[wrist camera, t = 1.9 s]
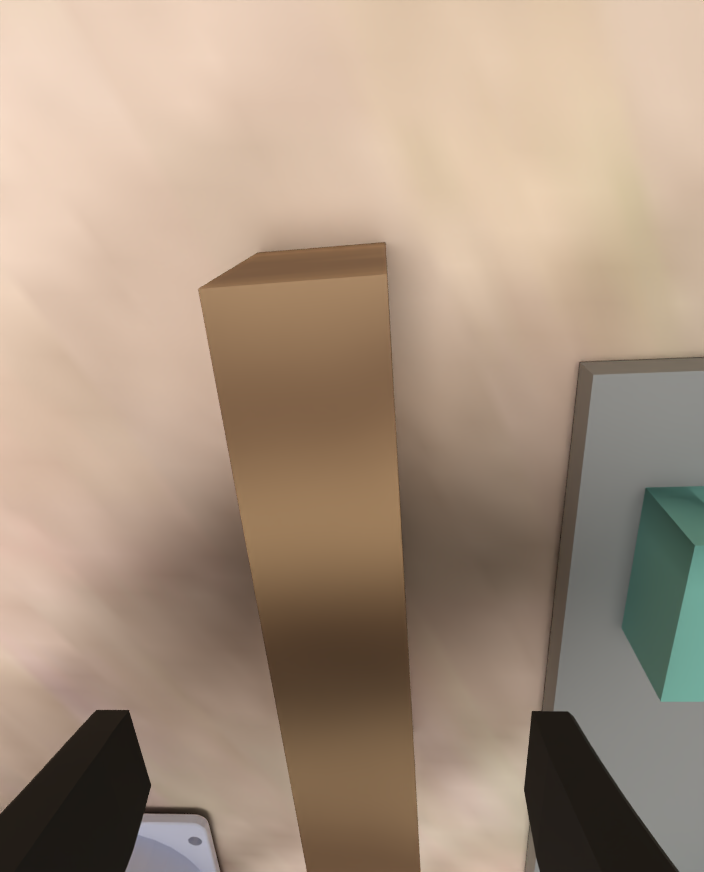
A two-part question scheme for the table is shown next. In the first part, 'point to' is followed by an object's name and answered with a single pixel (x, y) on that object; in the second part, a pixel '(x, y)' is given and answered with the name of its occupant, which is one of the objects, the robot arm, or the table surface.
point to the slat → (324, 536)
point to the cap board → (636, 592)
